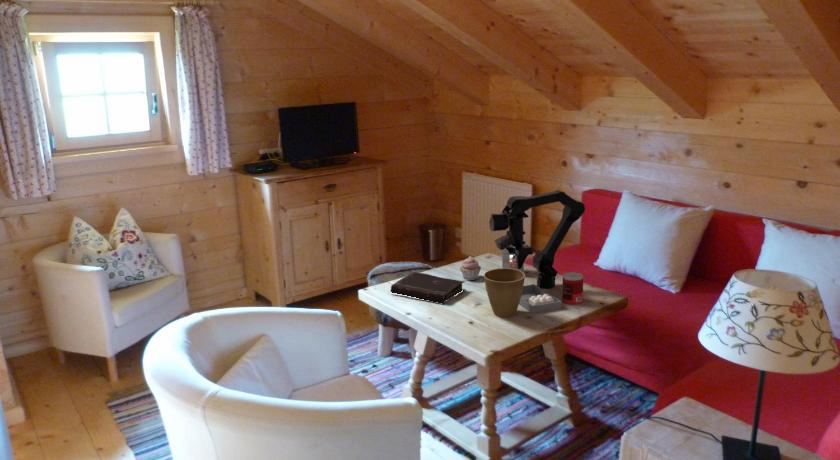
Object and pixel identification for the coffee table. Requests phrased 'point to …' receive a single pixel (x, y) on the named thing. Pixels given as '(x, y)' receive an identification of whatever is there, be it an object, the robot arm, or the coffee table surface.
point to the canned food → (572, 288)
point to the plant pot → (504, 290)
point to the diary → (427, 287)
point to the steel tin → (514, 262)
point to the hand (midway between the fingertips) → (516, 266)
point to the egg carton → (540, 299)
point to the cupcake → (470, 269)
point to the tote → (535, 291)
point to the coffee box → (506, 258)
